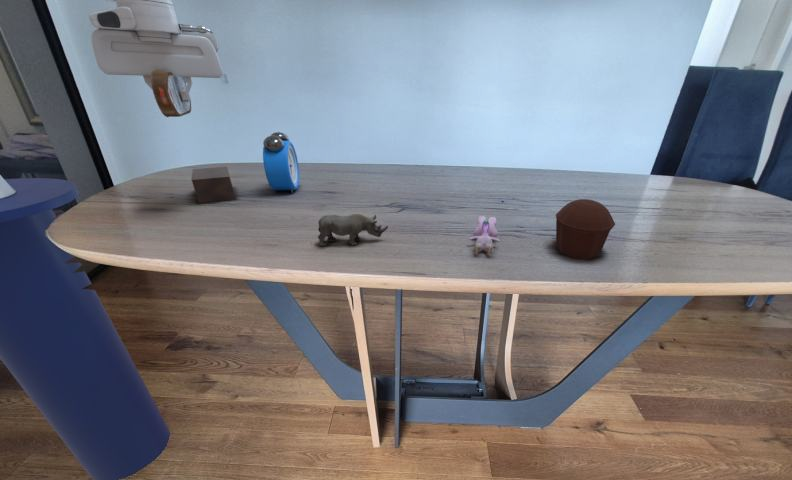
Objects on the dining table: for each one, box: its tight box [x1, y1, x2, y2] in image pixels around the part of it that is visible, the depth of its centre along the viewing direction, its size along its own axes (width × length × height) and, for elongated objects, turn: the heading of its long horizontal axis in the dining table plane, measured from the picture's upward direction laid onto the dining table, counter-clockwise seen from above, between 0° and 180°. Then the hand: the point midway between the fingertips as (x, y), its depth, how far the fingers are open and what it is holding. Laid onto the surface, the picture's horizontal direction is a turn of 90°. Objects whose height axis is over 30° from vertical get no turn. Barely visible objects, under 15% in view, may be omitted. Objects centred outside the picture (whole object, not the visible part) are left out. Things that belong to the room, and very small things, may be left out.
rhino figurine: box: [317, 213, 389, 247], centre depth 74 cm, size 4×14×6 cm, turn 101°
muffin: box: [555, 198, 616, 260], centre depth 73 cm, size 12×11×10 cm
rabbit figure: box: [468, 215, 501, 256], centre depth 76 cm, size 6×6×15 cm
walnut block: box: [191, 166, 237, 205], centre depth 97 cm, size 8×12×6 cm, turn 31°
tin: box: [151, 70, 192, 118], centre depth 77 cm, size 15×3×8 cm, turn 20°
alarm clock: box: [262, 131, 300, 194], centre depth 101 cm, size 13×6×15 cm, turn 11°
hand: (175, 101), depth 77 cm, fingers closed on tin, 3 cm apart
